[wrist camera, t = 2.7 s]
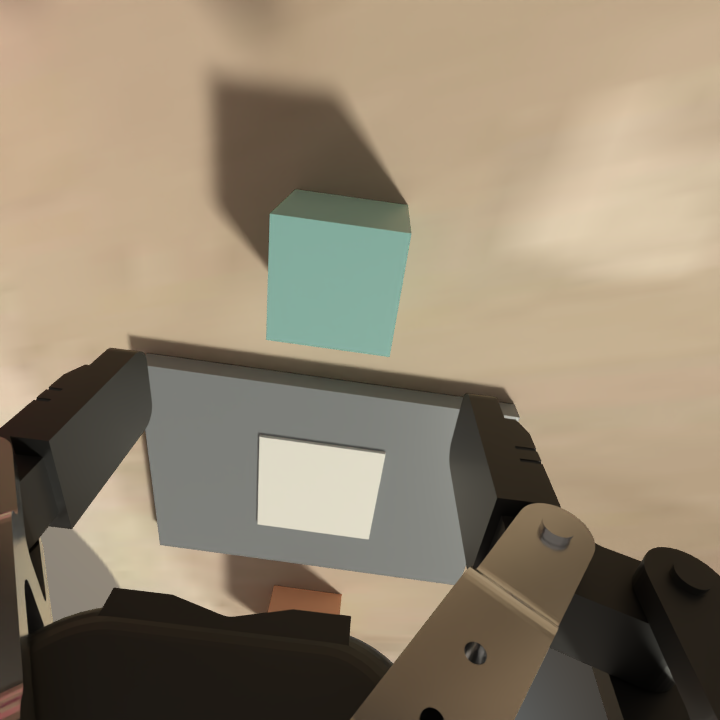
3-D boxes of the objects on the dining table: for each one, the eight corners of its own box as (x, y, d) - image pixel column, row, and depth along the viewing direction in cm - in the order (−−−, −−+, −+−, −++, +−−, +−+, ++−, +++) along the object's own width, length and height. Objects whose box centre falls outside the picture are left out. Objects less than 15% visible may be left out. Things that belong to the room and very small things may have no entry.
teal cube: (295, 188, 21) (269, 213, 16) (407, 204, 21) (411, 233, 16) (290, 294, 23) (266, 339, 19) (390, 308, 23) (389, 357, 19)
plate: (147, 353, 25) (134, 366, 24) (514, 404, 25) (520, 419, 24) (167, 530, 32) (158, 547, 31) (456, 569, 32) (458, 588, 31)
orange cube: (274, 584, 35) (257, 654, 30) (341, 593, 35) (334, 665, 30) (272, 623, 37) (256, 694, 33) (335, 632, 37) (327, 703, 33)
